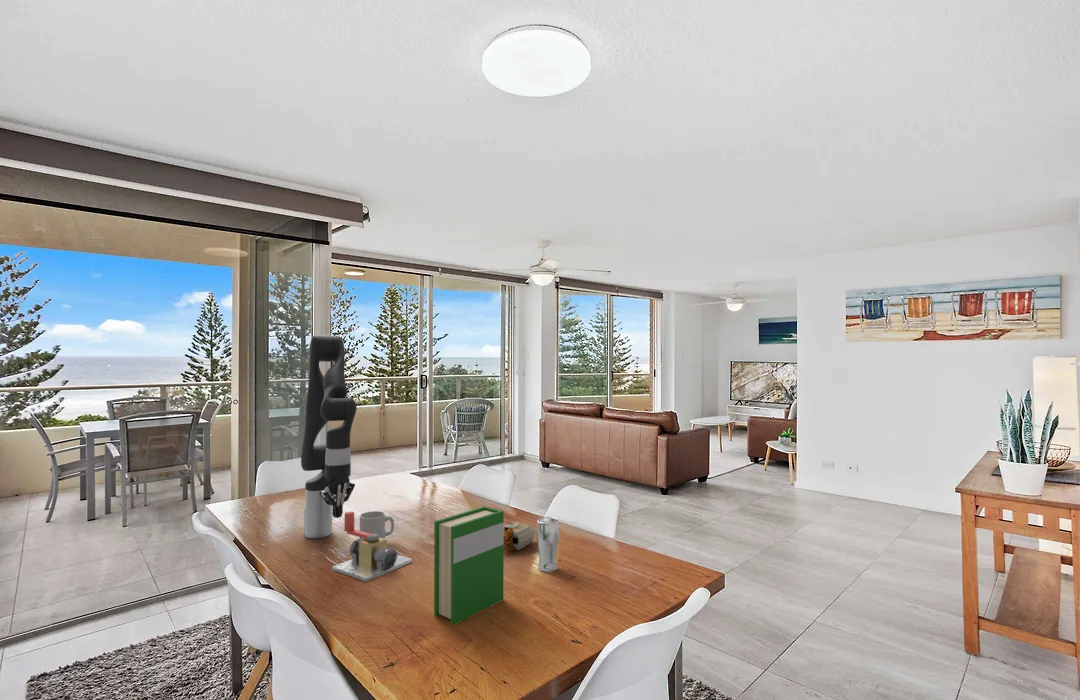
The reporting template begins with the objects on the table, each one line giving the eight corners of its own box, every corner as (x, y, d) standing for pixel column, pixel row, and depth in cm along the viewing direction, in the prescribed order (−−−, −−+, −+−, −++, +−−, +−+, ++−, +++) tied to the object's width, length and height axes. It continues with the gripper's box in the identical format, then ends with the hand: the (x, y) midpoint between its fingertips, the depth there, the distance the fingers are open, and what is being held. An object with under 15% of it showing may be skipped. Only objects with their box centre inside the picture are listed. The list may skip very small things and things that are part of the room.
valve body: (332, 569, 162) (332, 543, 162) (379, 551, 177) (379, 528, 177) (365, 581, 153) (365, 554, 154) (412, 562, 168) (412, 537, 169)
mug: (364, 552, 177) (364, 519, 177) (356, 545, 184) (356, 513, 184) (398, 544, 184) (398, 513, 184) (389, 538, 191) (389, 508, 191)
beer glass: (561, 565, 166) (561, 518, 166) (555, 574, 159) (554, 524, 159) (540, 562, 168) (540, 515, 168) (533, 571, 161) (533, 522, 161)
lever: (381, 538, 166) (381, 517, 166) (372, 542, 163) (372, 520, 163) (350, 531, 173) (350, 510, 173) (341, 534, 170) (341, 513, 170)
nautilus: (508, 564, 168) (473, 556, 177) (546, 541, 186) (512, 535, 194) (506, 539, 168) (471, 533, 177) (544, 518, 186) (510, 513, 194)
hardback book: (453, 625, 128) (453, 527, 129) (434, 615, 133) (434, 521, 134) (503, 600, 142) (503, 511, 142) (484, 592, 147) (484, 506, 147)
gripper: (344, 457, 172) (344, 509, 172) (312, 464, 160) (311, 521, 160) (362, 459, 169) (361, 512, 169) (330, 467, 157) (330, 525, 157)
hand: (337, 517), depth 164 cm, fingers closed
